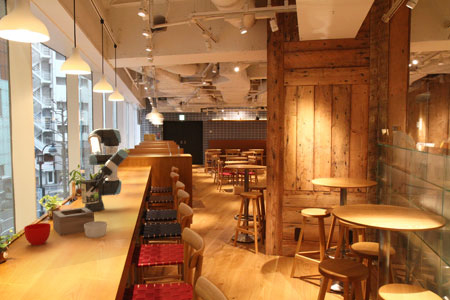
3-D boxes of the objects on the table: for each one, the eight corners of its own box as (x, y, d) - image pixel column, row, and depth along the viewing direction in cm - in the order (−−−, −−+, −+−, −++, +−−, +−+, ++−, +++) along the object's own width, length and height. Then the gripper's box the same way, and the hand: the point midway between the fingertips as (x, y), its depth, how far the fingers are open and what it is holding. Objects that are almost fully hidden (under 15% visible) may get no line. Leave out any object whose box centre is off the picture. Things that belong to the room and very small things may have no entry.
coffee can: (101, 200, 234) (100, 179, 233) (93, 204, 223) (92, 182, 223) (87, 200, 235) (86, 179, 235) (78, 203, 225) (77, 181, 224)
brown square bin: (53, 229, 227) (52, 211, 226) (85, 223, 239) (85, 207, 238) (60, 236, 211) (59, 217, 210) (94, 230, 223) (94, 212, 222)
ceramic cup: (56, 237, 208) (55, 220, 207) (46, 246, 191) (46, 228, 191) (32, 238, 206) (31, 221, 205) (20, 248, 189) (20, 229, 189)
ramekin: (105, 237, 207) (105, 226, 206) (81, 239, 205) (81, 227, 204) (109, 231, 220) (108, 220, 219) (86, 232, 218) (86, 221, 217)
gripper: (118, 173, 227) (93, 200, 220) (108, 170, 246) (85, 195, 238) (109, 166, 224) (84, 193, 216) (100, 163, 243) (77, 188, 235)
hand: (85, 194), depth 227 cm, fingers closed on coffee can, 10 cm apart
